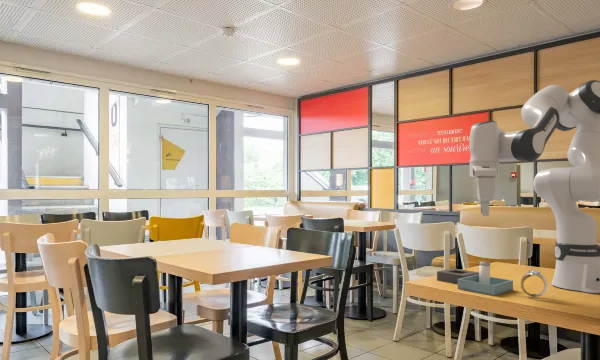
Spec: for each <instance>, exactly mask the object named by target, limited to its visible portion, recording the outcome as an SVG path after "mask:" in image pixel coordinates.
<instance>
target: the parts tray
mask: <svg viewBox="0 0 600 360" xmlns="http://www.w3.org/2000/svg"><path fill="white" fill-rule="evenodd" d="M457 289H458V290H463V291H468V292H472V291H473V293H478V292H479V293H478V294H483V293H484V294H483V295H488V294H489V296H493V295H494V296H495V297H496V296H498V295H501V294H502V295H503V294H505V293H508V292H512V291H513V290H514V280H513V279H506V278H502V277H501V278H500V277H493V276H490V284H485V283H479V275H473V276H469V277H465V278H461V279H458V284H457ZM494 296H493V297H494Z"/></svg>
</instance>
